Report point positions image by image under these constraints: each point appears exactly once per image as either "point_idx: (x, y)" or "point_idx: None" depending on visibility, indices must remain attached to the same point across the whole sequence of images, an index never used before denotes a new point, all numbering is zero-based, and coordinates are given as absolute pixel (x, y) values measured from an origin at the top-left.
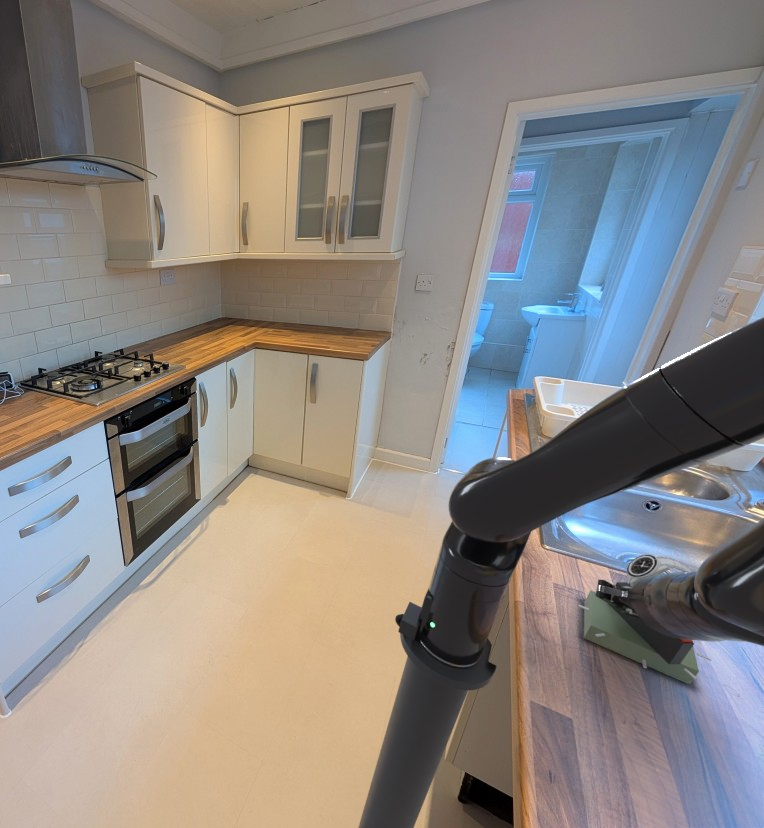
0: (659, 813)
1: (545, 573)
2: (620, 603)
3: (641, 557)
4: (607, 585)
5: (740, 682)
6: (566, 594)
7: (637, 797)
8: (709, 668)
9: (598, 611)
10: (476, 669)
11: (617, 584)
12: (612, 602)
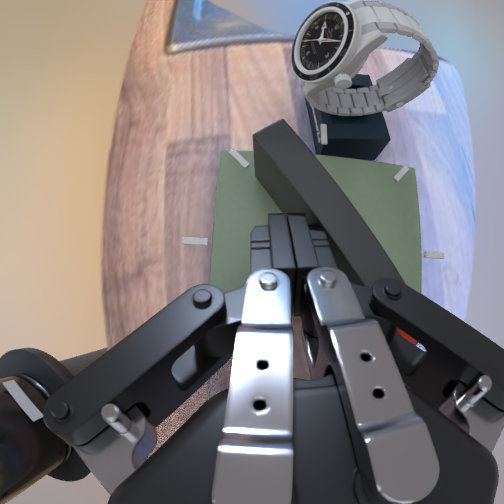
0: None
1: (156, 123)
2: (213, 356)
3: (317, 14)
4: (79, 439)
5: (462, 241)
6: (191, 166)
7: None
8: (431, 235)
9: (231, 231)
10: (76, 457)
11: (255, 142)
12: (161, 421)
